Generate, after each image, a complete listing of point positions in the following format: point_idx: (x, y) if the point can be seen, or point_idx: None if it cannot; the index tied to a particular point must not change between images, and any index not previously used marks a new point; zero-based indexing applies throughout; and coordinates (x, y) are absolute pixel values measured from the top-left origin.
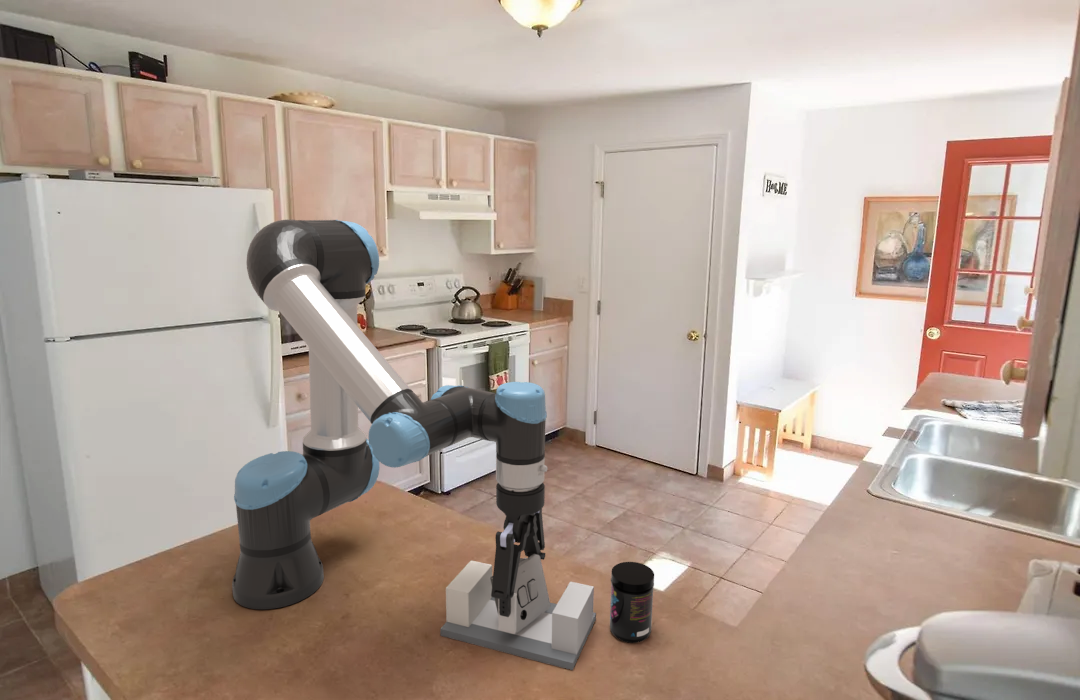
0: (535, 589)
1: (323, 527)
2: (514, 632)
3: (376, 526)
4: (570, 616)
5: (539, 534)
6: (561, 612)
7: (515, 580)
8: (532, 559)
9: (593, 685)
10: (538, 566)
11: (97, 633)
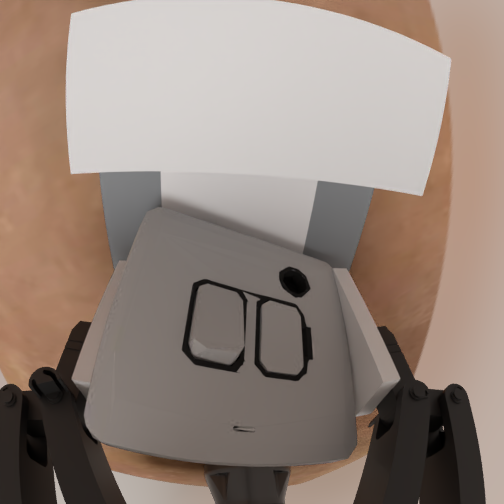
0: (210, 313)
1: (140, 466)
2: (348, 272)
3: (103, 448)
4: (443, 96)
5: (24, 488)
6: (417, 147)
7: (403, 437)
8: (149, 445)
9: (419, 21)
10: (124, 385)
11: (328, 471)
